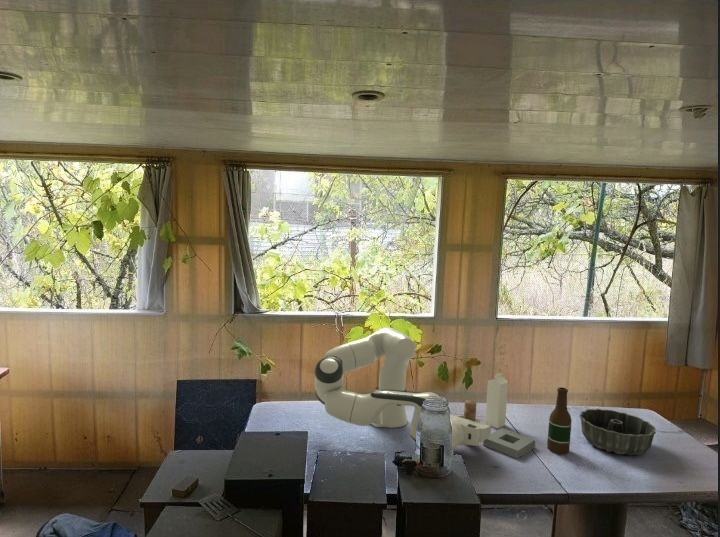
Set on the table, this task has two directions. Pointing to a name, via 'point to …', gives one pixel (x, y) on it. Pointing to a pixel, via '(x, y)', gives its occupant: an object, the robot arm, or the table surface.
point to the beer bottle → (559, 425)
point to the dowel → (470, 410)
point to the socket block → (509, 442)
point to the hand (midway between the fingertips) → (470, 419)
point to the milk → (496, 401)
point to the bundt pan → (617, 431)
